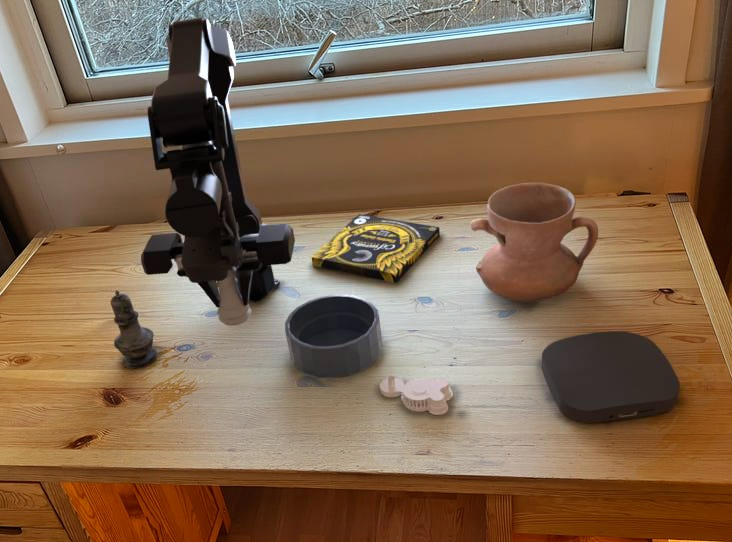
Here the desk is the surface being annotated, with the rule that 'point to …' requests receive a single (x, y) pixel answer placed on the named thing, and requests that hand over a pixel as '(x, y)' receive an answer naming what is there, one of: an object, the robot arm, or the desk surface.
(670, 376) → the media streaming box
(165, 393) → the desk surface
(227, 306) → the rook chess piece
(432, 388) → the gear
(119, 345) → the bishop chess piece
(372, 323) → the basin
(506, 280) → the ceramic jug
